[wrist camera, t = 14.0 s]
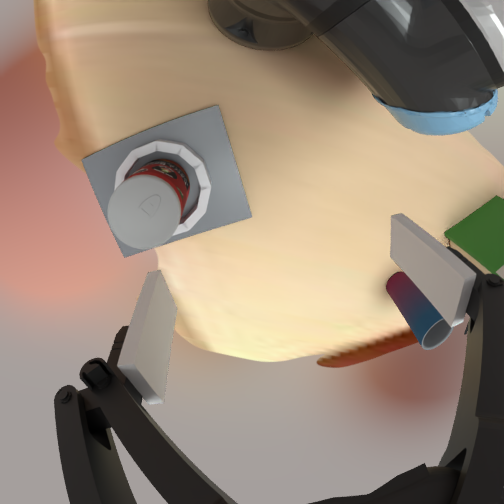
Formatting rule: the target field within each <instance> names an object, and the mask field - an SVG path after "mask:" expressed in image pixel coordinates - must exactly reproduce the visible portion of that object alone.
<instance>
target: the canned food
mask: <svg viewBox="0 0 504 504" xmlns="http://www.w3.org/2000/svg"><path fill="white" fill-rule="evenodd" d="M189 190H190V183H189V178H188V175H187V174H186V172H185V170H184V169H183V168H182V167H181V166H180V165H179V164H177V163H176V162H174V161H171V160H167V159H157V160H153V161H151V162H148V163H147V164H145V165H144V166H142V167H141V168H140V169H138V170H137V171H136V172H134V173H133V174H132V175H130V176H129V177H128V178H127V179H125V180H124V181H123V182H122V183H121V184H120V185H119V186H118V187H117V188H116V189H115V191H114V192H113V194H112V196H111V198H110V201H109V203H108V210H107V212H108V221H109V224H110V227H111V229H112V231H113V232H114V234H115V235H116V237H117V238H118V239H119V240H120V241H122V242H123V243H125V244H126V245H128V246H131V247H133V248H137V249H151V248H155V247H158V246H160V245H162V244H163V243H165V242H166V241H167V240H169V239H170V238H171V236H172V235H173V234H174V232H175V231H176V229H177V227H178V225H179V223H180V220H181V217H182V214H183V211H184V207H185V204H186V201H187V198H188V195H189Z"/></svg>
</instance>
